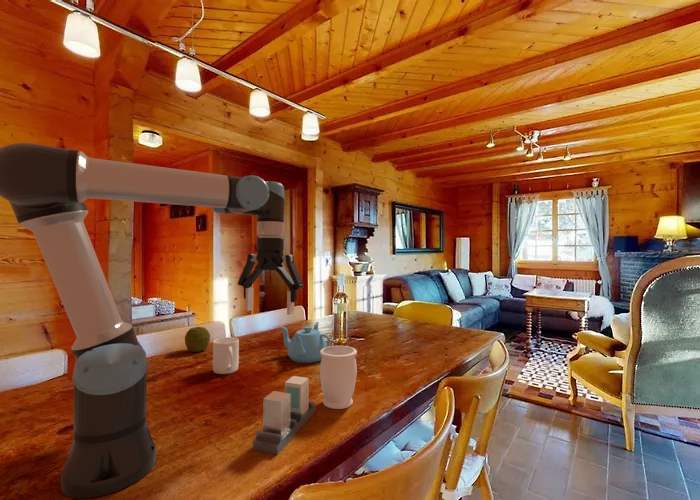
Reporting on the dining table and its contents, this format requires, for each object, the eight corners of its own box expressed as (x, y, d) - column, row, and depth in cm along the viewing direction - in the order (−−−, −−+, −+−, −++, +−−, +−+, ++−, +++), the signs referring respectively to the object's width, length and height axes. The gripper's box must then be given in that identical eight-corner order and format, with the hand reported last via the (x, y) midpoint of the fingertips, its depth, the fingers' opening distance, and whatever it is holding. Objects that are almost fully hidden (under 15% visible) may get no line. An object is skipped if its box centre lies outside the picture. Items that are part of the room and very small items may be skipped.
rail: (277, 454, 73) (277, 407, 73) (253, 449, 75) (253, 403, 75) (315, 411, 92) (315, 374, 92) (294, 408, 94) (295, 372, 94)
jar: (336, 392, 105) (337, 343, 105) (363, 402, 98) (364, 349, 98) (311, 404, 96) (312, 350, 96) (339, 415, 90) (340, 358, 90)
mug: (218, 380, 113) (218, 347, 113) (210, 369, 123) (210, 339, 123) (244, 374, 118) (244, 343, 118) (234, 364, 128) (235, 336, 128)
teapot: (277, 355, 139) (277, 325, 139) (317, 348, 150) (317, 320, 150) (294, 368, 125) (295, 334, 125) (338, 359, 135) (338, 328, 135)
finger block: (300, 417, 85) (300, 385, 85) (284, 414, 86) (284, 382, 86) (308, 408, 89) (308, 378, 89) (293, 405, 91) (293, 375, 91)
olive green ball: (201, 355, 138) (201, 328, 138) (179, 353, 140) (179, 327, 140) (214, 348, 148) (214, 322, 148) (194, 346, 150) (194, 321, 150)
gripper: (316, 237, 97) (315, 313, 97) (242, 237, 105) (241, 306, 105) (303, 237, 90) (302, 318, 90) (225, 236, 98) (224, 310, 98)
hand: (269, 312), depth 97 cm, fingers open, 13 cm apart
